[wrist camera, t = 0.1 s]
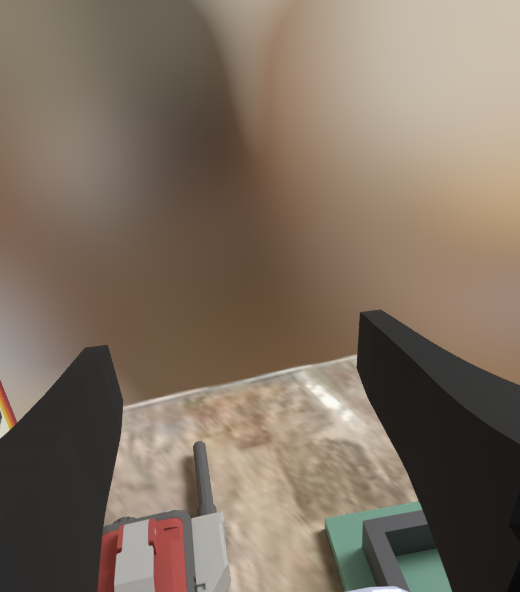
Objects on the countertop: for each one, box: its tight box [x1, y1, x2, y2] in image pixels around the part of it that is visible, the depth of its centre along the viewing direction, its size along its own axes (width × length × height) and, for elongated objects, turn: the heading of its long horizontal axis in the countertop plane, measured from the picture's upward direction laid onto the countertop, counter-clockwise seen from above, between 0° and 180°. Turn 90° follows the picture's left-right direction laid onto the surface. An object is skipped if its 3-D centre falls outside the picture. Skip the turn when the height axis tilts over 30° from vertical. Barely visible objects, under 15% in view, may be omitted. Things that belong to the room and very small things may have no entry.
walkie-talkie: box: [98, 441, 231, 592], centre depth 29 cm, size 9×4×20 cm
